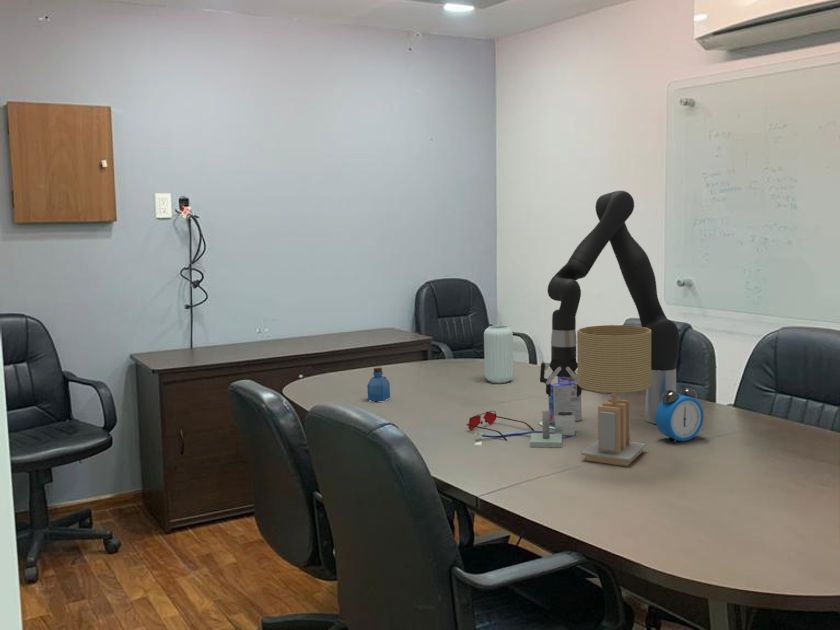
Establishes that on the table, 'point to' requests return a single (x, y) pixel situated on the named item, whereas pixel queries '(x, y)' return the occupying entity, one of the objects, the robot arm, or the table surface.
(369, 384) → the perfume bottle
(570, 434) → the grey hollow cube
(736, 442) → the table surface
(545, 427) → the shaft block
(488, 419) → the glasses
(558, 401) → the ink cartridge box
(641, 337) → the desk lamp
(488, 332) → the vase
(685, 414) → the alarm clock
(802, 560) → the table surface
